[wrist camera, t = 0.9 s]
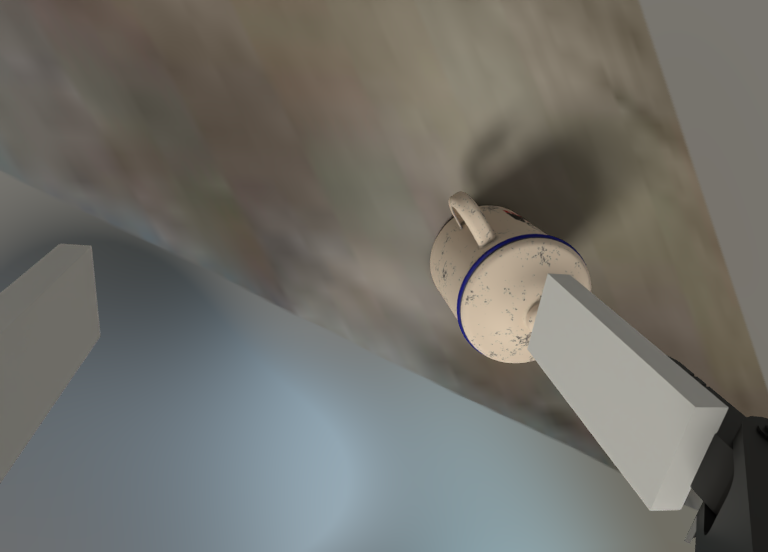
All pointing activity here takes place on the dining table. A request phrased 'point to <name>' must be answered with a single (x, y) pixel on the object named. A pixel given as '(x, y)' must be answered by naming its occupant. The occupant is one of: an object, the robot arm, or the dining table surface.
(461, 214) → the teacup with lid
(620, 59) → the dining table surface
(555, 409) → the dining table surface
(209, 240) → the dining table surface
